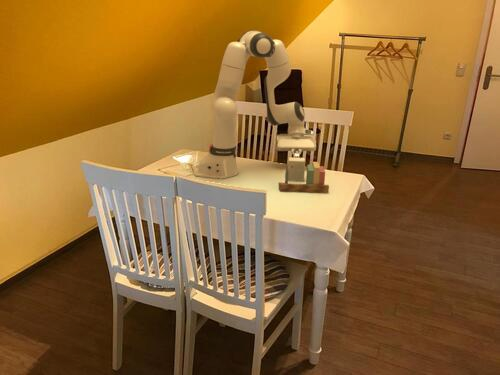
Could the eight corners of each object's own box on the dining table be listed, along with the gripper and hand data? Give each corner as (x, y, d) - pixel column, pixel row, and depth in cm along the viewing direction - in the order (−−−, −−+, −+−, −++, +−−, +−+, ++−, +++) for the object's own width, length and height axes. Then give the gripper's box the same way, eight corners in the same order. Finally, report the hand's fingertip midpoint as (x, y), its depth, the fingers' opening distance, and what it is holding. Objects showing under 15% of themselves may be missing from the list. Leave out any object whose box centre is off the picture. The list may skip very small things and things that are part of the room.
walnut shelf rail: (279, 191, 193) (280, 184, 192) (279, 190, 194) (280, 183, 193) (328, 193, 192) (329, 186, 190) (328, 192, 193) (328, 184, 192)
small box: (303, 177, 210) (305, 157, 207) (304, 181, 205) (305, 161, 201) (287, 177, 211) (288, 156, 207) (287, 181, 206) (288, 160, 202)
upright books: (307, 191, 194) (308, 167, 189) (305, 184, 201) (307, 161, 197) (323, 191, 193) (325, 167, 189) (321, 185, 201) (323, 162, 197)
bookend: (278, 190, 194) (279, 171, 191) (278, 183, 202) (279, 165, 199) (287, 190, 194) (288, 172, 191) (287, 184, 202) (287, 166, 199)
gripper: (276, 130, 219) (276, 154, 213) (316, 131, 218) (317, 155, 212) (276, 137, 224) (275, 160, 219) (315, 137, 223) (315, 160, 218)
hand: (296, 157), depth 215 cm, fingers closed
